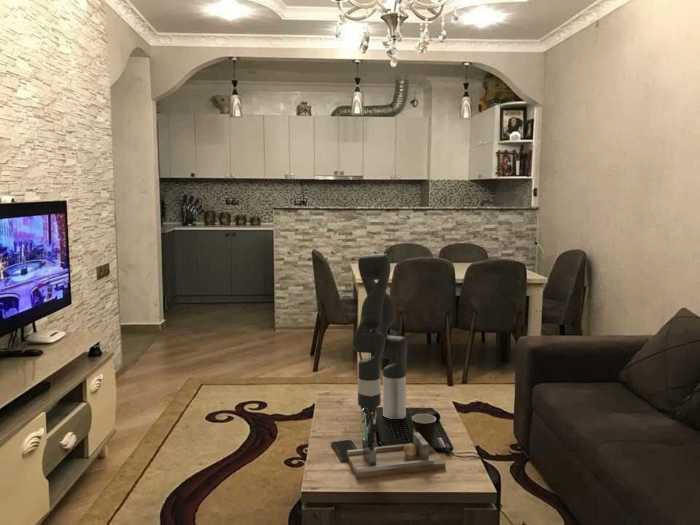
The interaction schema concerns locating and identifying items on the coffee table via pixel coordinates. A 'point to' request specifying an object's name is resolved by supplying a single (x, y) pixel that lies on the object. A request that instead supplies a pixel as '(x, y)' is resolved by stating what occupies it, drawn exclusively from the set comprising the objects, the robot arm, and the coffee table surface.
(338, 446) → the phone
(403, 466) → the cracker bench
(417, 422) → the coffee mug
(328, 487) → the coffee table surface
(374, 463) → the moving jaw
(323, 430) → the coffee table surface
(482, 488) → the coffee table surface
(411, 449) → the nut
